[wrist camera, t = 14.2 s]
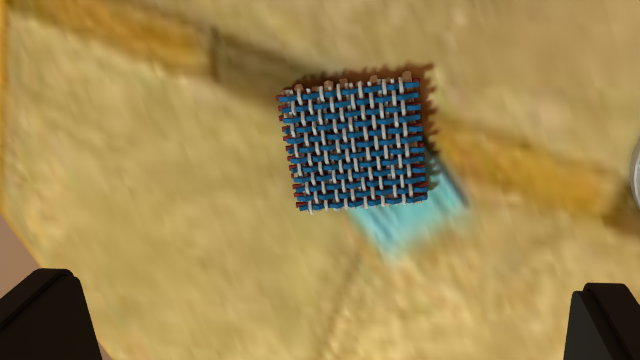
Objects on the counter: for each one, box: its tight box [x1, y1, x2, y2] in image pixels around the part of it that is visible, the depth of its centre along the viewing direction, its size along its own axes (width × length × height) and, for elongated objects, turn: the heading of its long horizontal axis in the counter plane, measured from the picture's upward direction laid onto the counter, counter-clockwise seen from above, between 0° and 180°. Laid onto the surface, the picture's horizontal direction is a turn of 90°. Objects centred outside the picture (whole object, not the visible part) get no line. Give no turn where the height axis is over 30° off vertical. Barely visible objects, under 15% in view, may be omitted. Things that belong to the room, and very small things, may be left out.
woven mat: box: [276, 71, 428, 215], centre depth 39 cm, size 10×11×2 cm
